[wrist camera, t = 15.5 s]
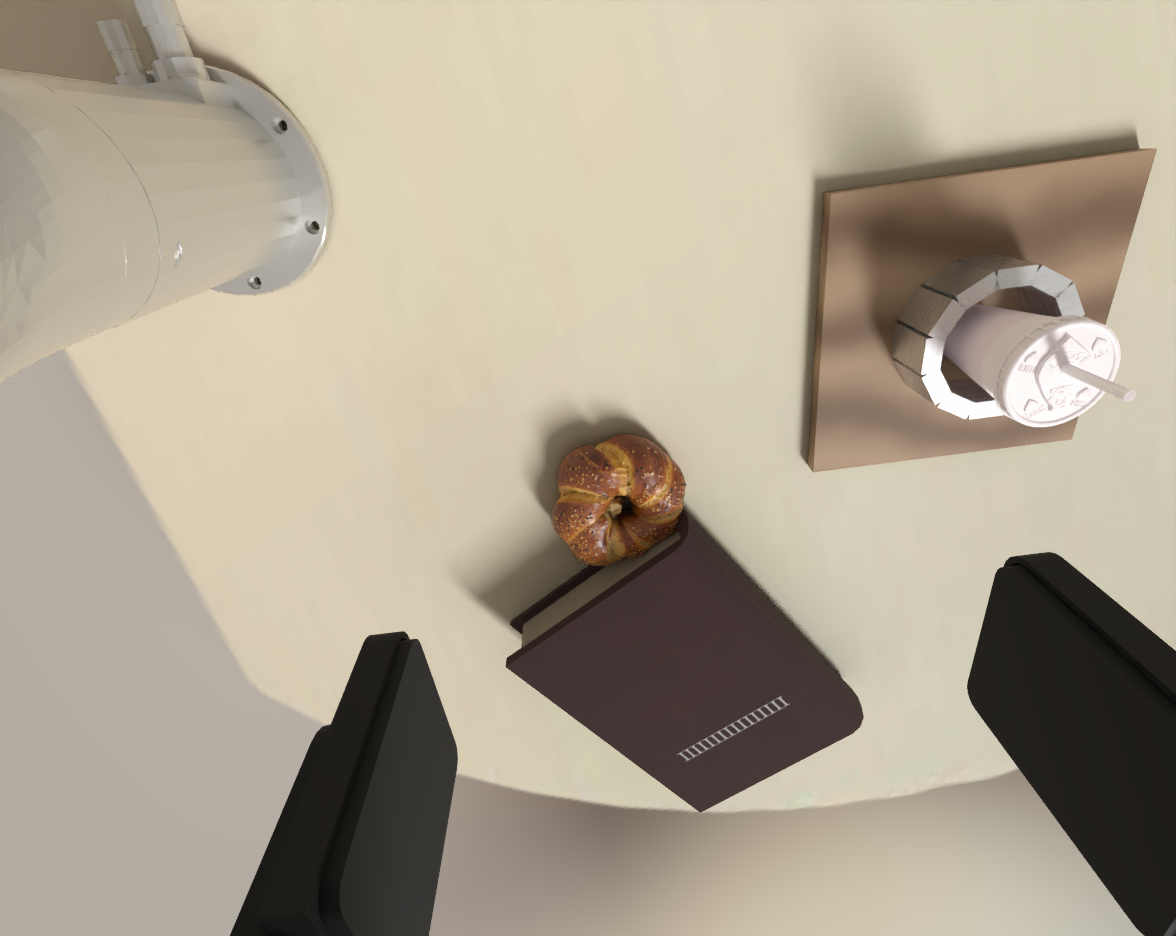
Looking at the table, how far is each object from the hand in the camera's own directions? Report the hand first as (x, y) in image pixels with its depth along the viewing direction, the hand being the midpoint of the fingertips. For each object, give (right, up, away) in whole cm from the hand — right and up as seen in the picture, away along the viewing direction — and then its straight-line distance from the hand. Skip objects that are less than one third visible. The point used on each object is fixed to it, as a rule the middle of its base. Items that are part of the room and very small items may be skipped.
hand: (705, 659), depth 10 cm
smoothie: (+24, +13, +32) cm, 42 cm away
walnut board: (+24, +13, +33) cm, 43 cm away
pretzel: (0, +1, +39) cm, 39 cm away
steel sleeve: (+24, +13, +32) cm, 42 cm away
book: (+7, -14, +48) cm, 50 cm away
